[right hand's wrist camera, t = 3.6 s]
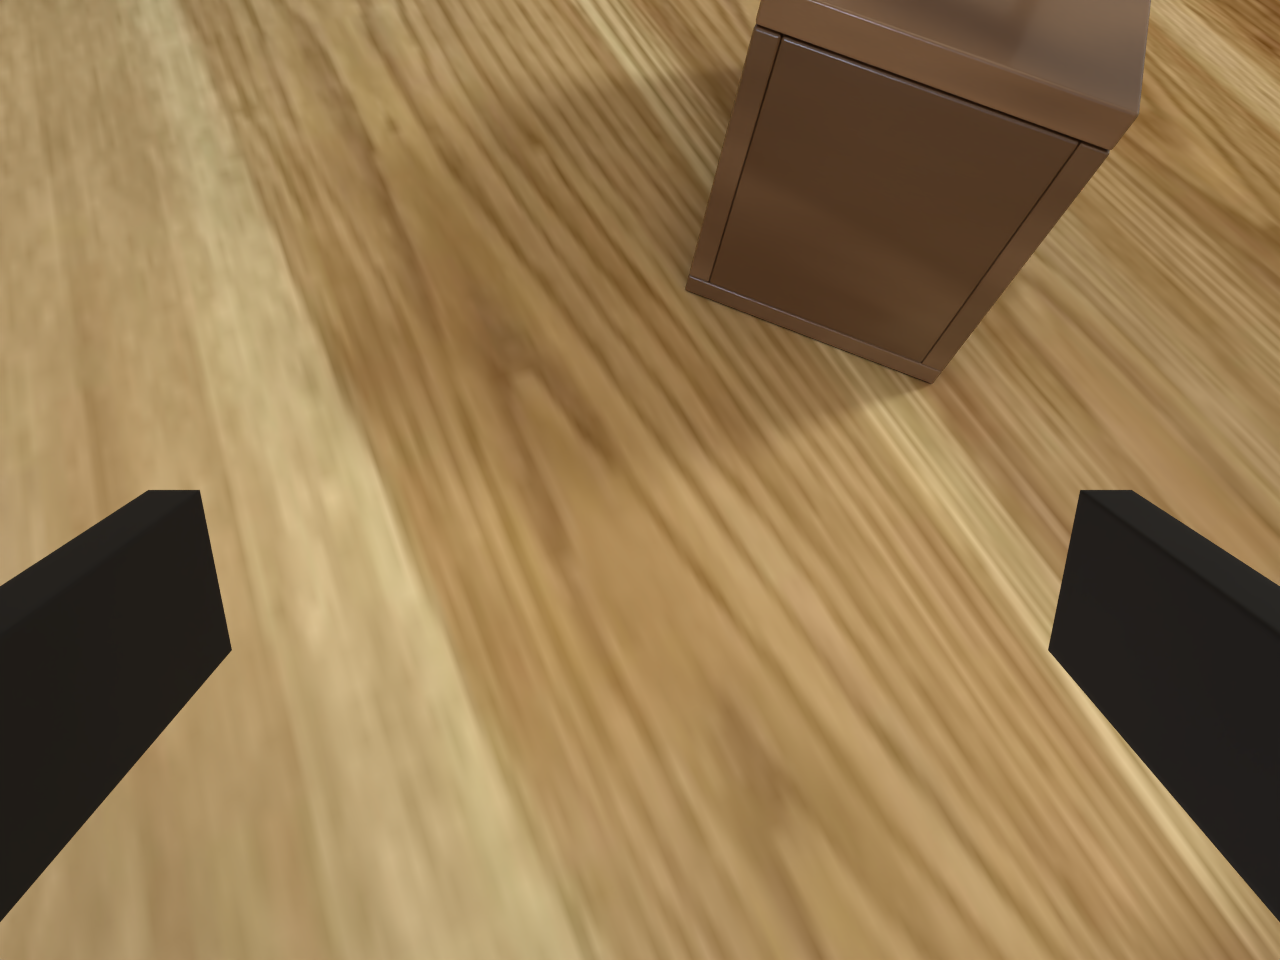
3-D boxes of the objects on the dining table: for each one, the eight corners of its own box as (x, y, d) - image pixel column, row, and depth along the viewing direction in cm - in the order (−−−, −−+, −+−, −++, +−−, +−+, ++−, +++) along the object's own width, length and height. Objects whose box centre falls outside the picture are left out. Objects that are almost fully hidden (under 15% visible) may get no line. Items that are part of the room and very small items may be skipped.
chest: (792, 60, 40) (878, -209, 30) (993, 132, 39) (1145, -120, 30) (684, 290, 32) (753, 26, 23) (932, 384, 31) (1109, 154, 22)
